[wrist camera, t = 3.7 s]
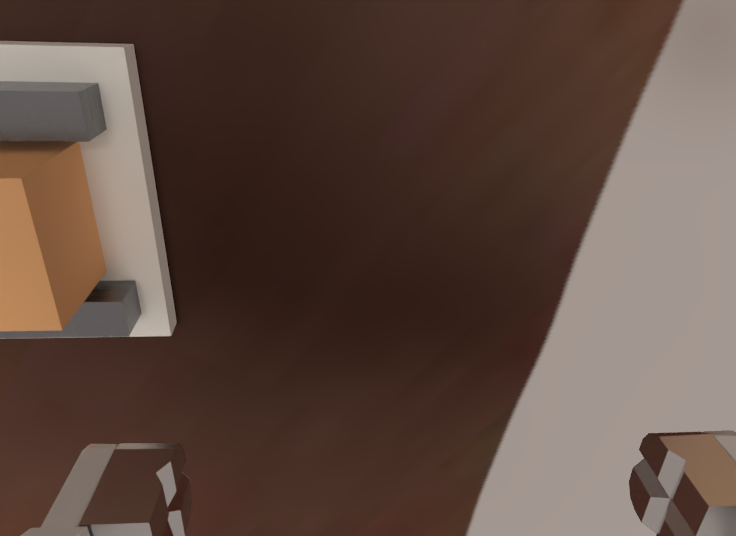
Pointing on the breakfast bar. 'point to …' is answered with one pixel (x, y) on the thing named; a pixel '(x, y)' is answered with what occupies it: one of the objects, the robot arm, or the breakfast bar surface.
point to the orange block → (45, 235)
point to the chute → (97, 173)
